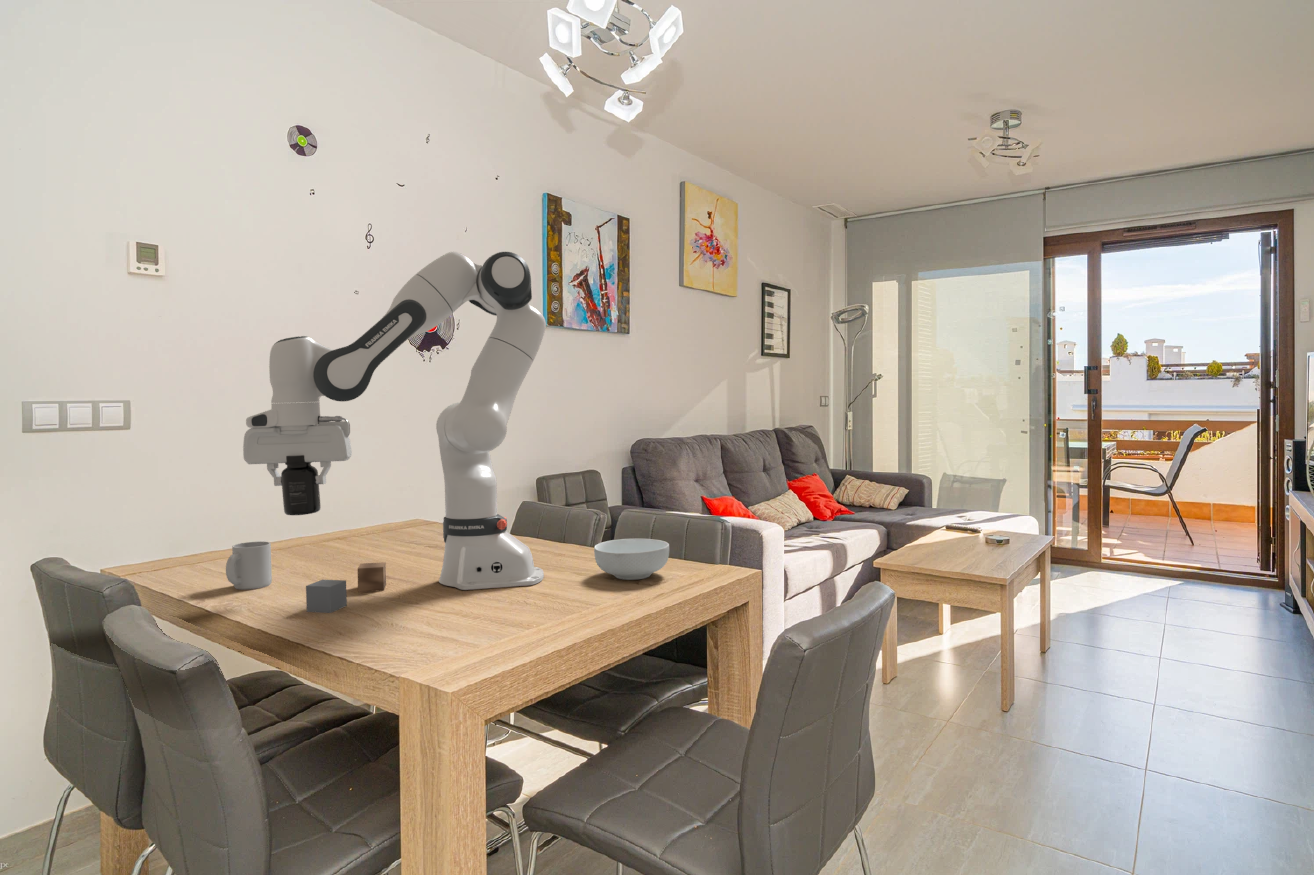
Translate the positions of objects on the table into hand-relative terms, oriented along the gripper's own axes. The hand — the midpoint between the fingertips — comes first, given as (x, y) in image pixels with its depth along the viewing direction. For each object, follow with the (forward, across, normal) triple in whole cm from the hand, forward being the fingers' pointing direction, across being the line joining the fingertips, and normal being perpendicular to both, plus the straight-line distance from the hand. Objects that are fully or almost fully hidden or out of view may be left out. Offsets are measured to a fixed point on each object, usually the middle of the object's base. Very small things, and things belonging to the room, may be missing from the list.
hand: (300, 484), depth 150 cm
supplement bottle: (+6, 0, 0) cm, 6 cm away
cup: (+22, +15, -7) cm, 28 cm away
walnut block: (+23, -12, -2) cm, 26 cm away
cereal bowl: (+24, -67, -7) cm, 72 cm away
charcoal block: (+23, -8, +12) cm, 27 cm away
